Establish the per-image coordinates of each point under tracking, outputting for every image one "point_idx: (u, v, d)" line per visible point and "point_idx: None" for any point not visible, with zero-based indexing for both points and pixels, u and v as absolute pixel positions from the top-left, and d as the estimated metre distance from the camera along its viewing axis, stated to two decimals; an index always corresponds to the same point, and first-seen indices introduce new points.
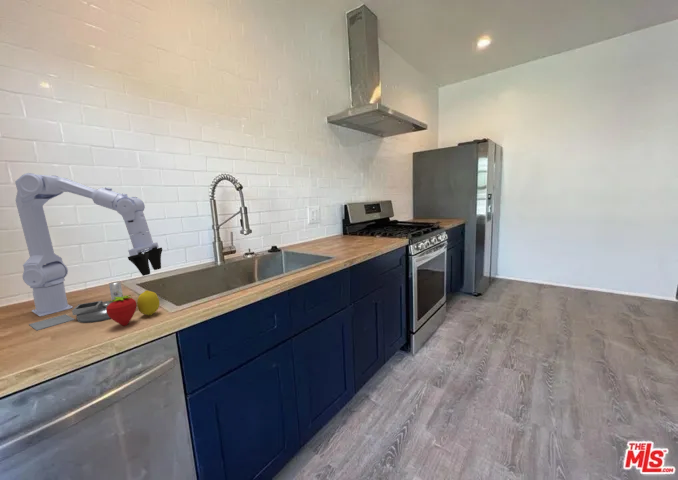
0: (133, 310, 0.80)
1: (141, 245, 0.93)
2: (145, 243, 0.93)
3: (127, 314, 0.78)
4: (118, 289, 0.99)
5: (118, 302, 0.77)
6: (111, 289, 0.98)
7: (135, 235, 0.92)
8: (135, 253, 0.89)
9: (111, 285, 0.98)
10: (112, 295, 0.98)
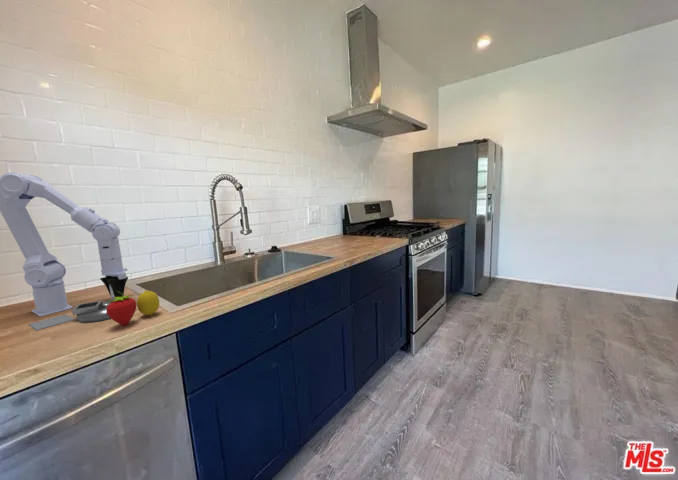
0: (133, 310, 0.80)
1: (119, 270, 0.98)
2: (121, 268, 0.99)
3: (127, 314, 0.78)
4: None
5: (118, 302, 0.77)
6: (111, 289, 0.98)
7: (115, 260, 0.97)
8: (125, 276, 0.96)
9: None
10: (112, 295, 0.98)
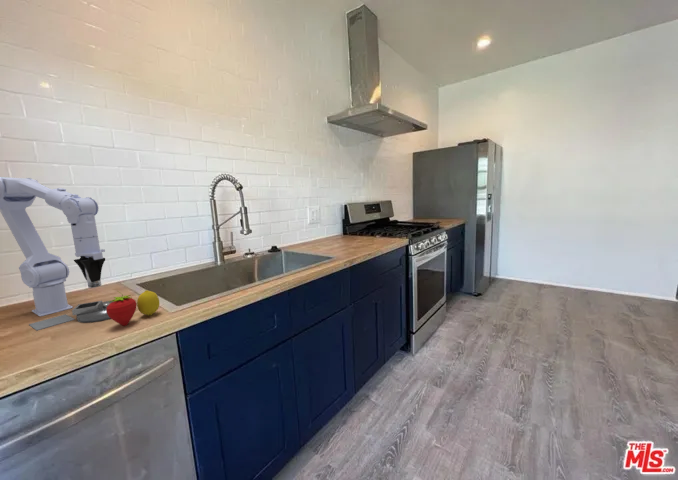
0: (133, 310, 0.80)
1: (94, 250, 0.87)
2: (98, 248, 0.89)
3: (127, 314, 0.78)
4: None
5: (118, 302, 0.77)
6: None
7: (90, 239, 0.86)
8: (101, 257, 0.85)
9: None
10: (88, 278, 0.88)
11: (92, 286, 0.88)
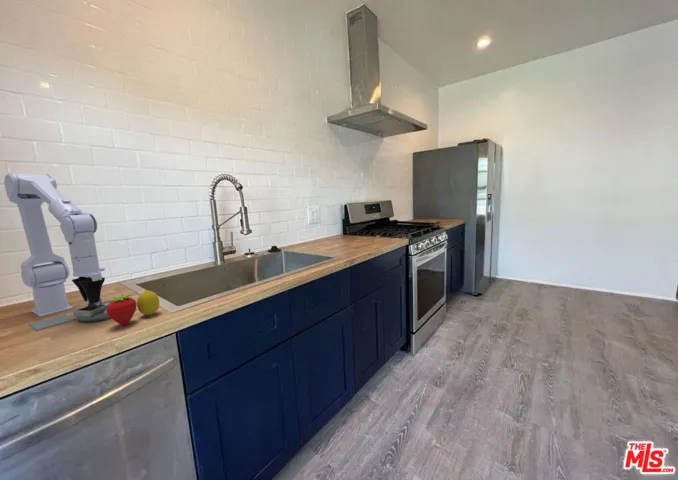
0: (133, 310, 0.80)
1: (93, 270, 0.82)
2: (97, 267, 0.83)
3: (127, 314, 0.78)
4: None
5: (118, 302, 0.77)
6: None
7: (88, 258, 0.81)
8: (100, 278, 0.80)
9: None
10: None
11: (95, 308, 0.84)
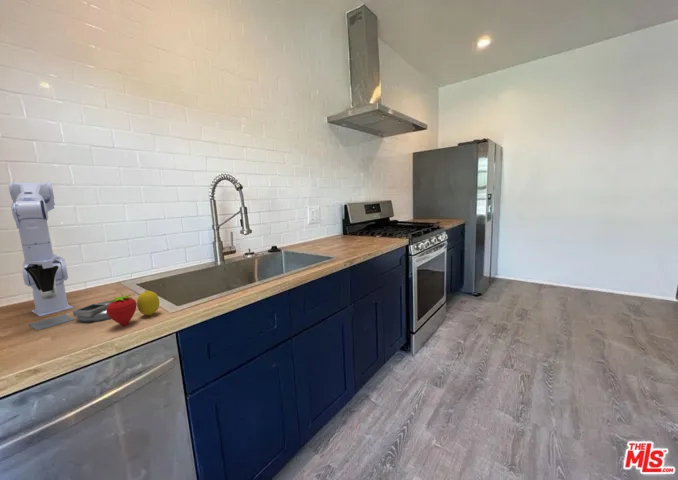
0: (133, 310, 0.80)
1: (46, 257, 0.80)
2: (50, 255, 0.81)
3: (127, 314, 0.78)
4: None
5: (118, 302, 0.77)
6: None
7: (40, 245, 0.79)
8: (52, 265, 0.78)
9: None
10: None
11: (49, 297, 0.82)
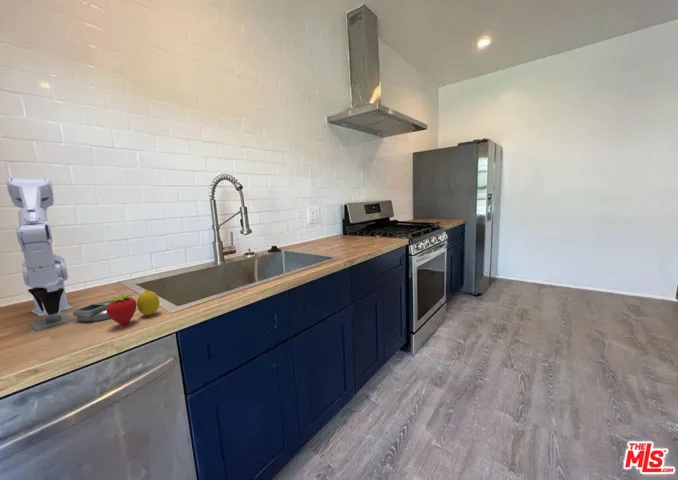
0: (133, 310, 0.80)
1: (50, 280, 0.81)
2: (54, 278, 0.82)
3: (127, 314, 0.78)
4: None
5: (118, 302, 0.77)
6: None
7: (44, 268, 0.80)
8: (56, 288, 0.79)
9: None
10: None
11: (53, 321, 0.83)
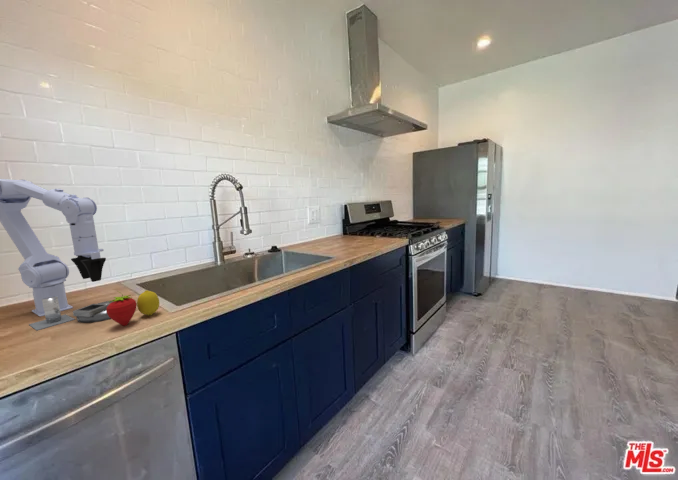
0: (133, 310, 0.80)
1: (93, 249, 0.88)
2: (96, 248, 0.90)
3: (127, 314, 0.78)
4: (56, 305, 0.84)
5: (118, 302, 0.77)
6: (47, 306, 0.82)
7: (88, 238, 0.87)
8: (99, 256, 0.86)
9: (47, 301, 0.82)
10: (48, 313, 0.82)
11: (53, 321, 0.83)
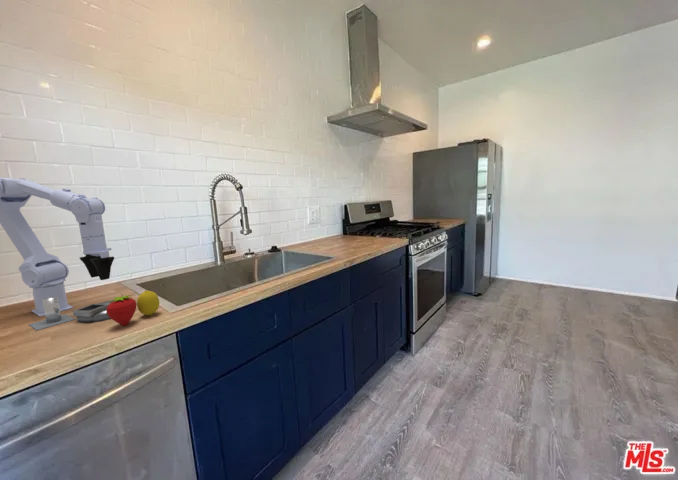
0: (133, 310, 0.80)
1: (101, 248, 0.90)
2: (104, 247, 0.91)
3: (127, 314, 0.78)
4: (56, 305, 0.84)
5: (118, 302, 0.77)
6: (47, 306, 0.82)
7: (97, 238, 0.89)
8: (108, 255, 0.88)
9: (47, 301, 0.82)
10: (49, 313, 0.82)
11: (53, 321, 0.83)
